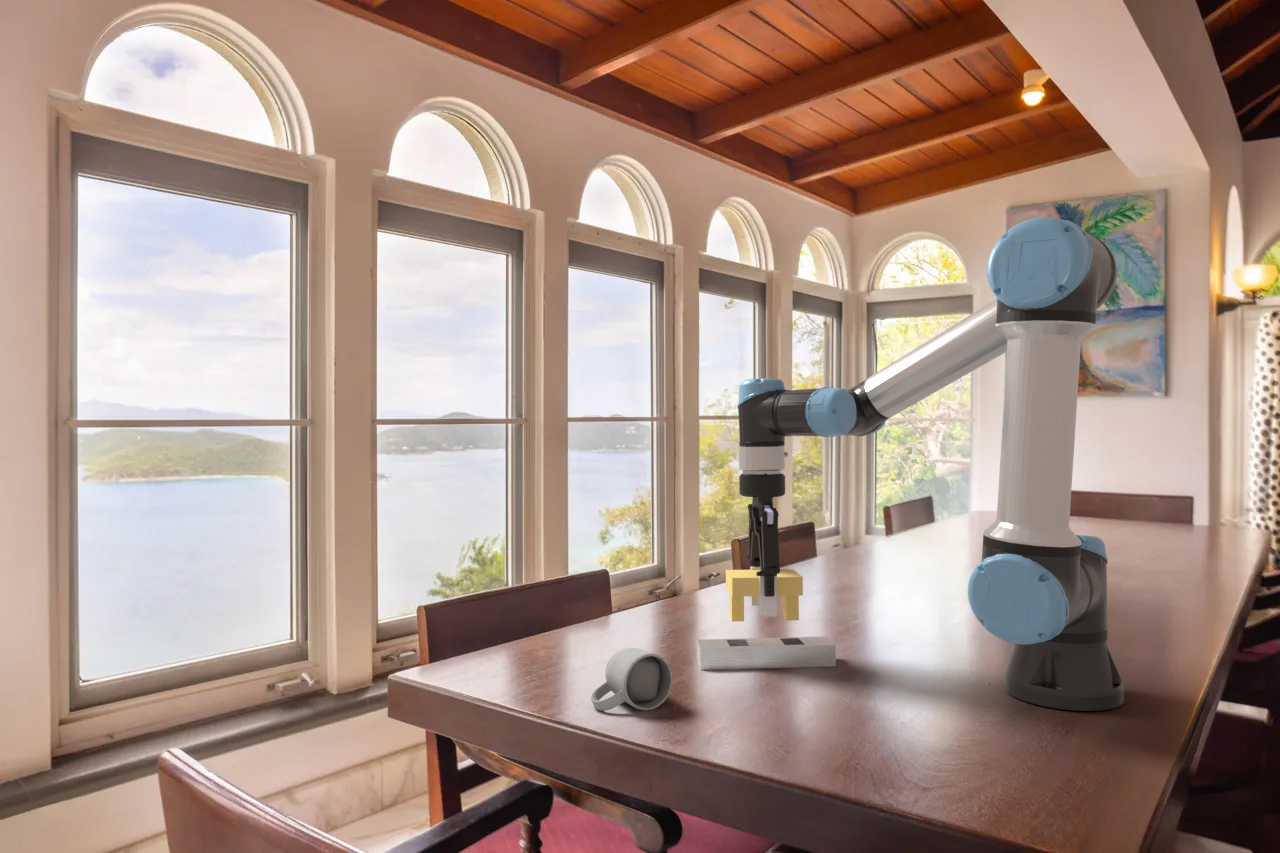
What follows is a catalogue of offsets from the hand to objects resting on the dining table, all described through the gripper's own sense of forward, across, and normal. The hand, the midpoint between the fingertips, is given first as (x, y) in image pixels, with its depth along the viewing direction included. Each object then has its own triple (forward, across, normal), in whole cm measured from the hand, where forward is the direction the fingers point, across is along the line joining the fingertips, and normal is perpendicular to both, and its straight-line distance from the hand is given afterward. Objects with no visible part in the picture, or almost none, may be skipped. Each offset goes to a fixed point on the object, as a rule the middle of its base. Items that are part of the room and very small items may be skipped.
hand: (763, 610), depth 137 cm
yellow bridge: (+1, 0, 0) cm, 1 cm away
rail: (+9, 0, 0) cm, 9 cm away
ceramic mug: (+9, -19, +23) cm, 31 cm away
